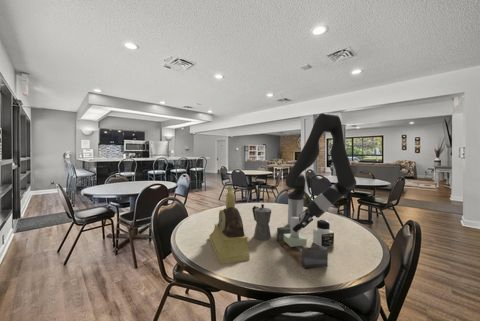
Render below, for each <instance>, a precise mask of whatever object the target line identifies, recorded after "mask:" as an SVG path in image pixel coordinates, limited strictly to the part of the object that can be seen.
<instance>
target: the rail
mask: <svg viewBox="0 0 480 321" xmlns="http://www.w3.org/2000/svg"><path fill="white" fill-rule="evenodd" d="M283 234H290V226H282V227H281V226H279V227H276V241H277V242H278V244H279V245H281V247H283V249H284V250H285V251H287V253H289V255H290V256H291V257H292V258H293V259H294V260H296V262H298V264H299V265H301V267H302V268H304V269H305V270H309V269H315V268H316V269H317V268H318V269H319V268H323V267H324V268H326V267H328V266H329V265H328V262H329V260H328V258H329V256H328V255H329V249H328V247H326V248H325V247H324V246H313V247H312V246H311V247H308V246H307V244H306V245H304V246H295V247H290V246H289V245H288V244H287V243H286V242H285V241H284V240H283Z"/></svg>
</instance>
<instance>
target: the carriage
mask: <svg viewBox="0 0 480 321" xmlns="http://www.w3.org/2000/svg"><path fill="white" fill-rule="evenodd" d="M298 223H299V218H298V217H291V227H290V226H289V227H290V234H283V240H284V241H285V242H286V243H287V244H288V245H289V246H290V247H295V246H304V245H306V246H307V238H306V237H305V236H303V235H302V234H300V229H299V230H298V231H297V232H295V231H294V230H293V228H294V227H295V226H296V225H297V224H298Z"/></svg>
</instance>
